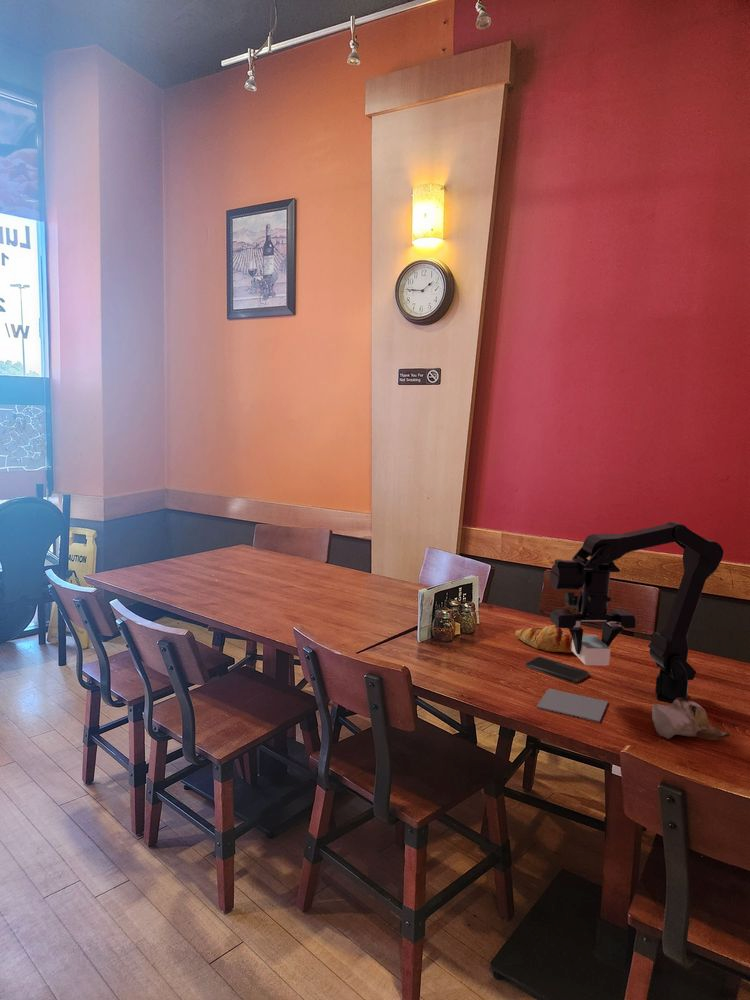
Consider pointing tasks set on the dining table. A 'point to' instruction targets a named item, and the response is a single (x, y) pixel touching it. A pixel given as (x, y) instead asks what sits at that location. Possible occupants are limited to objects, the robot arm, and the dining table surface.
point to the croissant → (546, 638)
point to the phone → (557, 669)
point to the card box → (593, 651)
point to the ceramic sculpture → (684, 720)
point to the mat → (573, 705)
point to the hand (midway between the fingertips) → (589, 653)
